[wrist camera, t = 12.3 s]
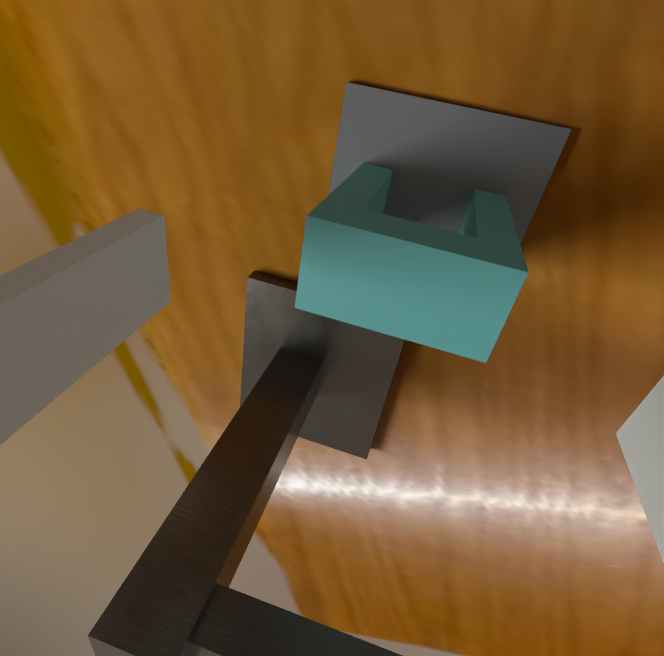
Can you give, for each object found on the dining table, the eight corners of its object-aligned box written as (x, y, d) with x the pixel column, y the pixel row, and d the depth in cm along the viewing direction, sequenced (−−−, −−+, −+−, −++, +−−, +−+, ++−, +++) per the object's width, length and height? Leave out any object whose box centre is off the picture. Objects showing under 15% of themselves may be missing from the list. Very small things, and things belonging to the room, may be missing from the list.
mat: (348, 81, 20) (346, 81, 19) (569, 128, 18) (571, 129, 18) (317, 273, 25) (315, 276, 25) (486, 319, 24) (486, 323, 24)
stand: (254, 270, 26) (-26, 539, 11) (523, 346, 24) (613, 801, 9) (245, 408, 33) (60, 691, 18) (455, 477, 31) (444, 865, 16)
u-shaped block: (350, 229, 23) (294, 307, 16) (363, 162, 21) (306, 215, 14) (480, 263, 22) (486, 362, 15) (506, 196, 20) (528, 272, 13)
